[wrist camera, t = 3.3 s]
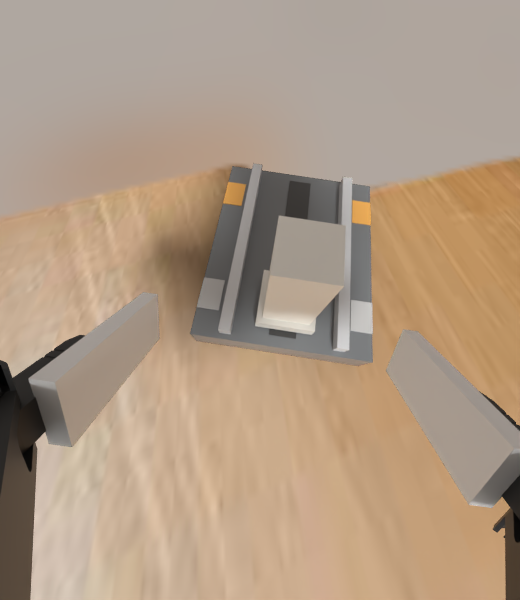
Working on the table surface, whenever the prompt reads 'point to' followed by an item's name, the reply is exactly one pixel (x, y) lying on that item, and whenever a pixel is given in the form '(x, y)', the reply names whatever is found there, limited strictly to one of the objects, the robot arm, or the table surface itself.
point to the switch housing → (257, 257)
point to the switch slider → (301, 274)
